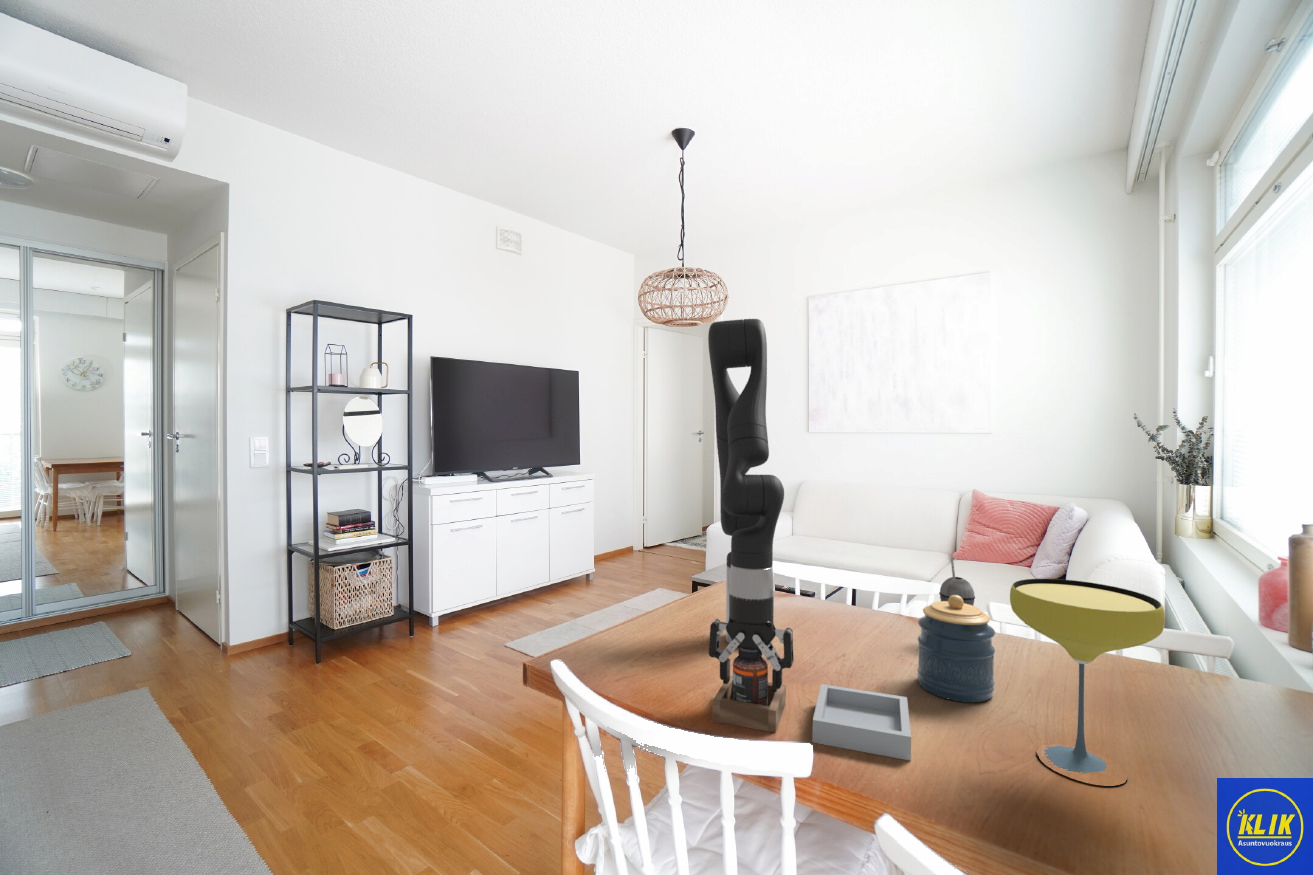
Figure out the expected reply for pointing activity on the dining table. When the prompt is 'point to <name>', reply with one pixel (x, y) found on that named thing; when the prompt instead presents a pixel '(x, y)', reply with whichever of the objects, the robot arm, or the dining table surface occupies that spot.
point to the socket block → (749, 709)
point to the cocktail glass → (1085, 635)
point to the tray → (863, 721)
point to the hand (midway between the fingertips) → (750, 685)
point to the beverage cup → (957, 588)
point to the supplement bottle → (750, 677)
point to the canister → (956, 651)
